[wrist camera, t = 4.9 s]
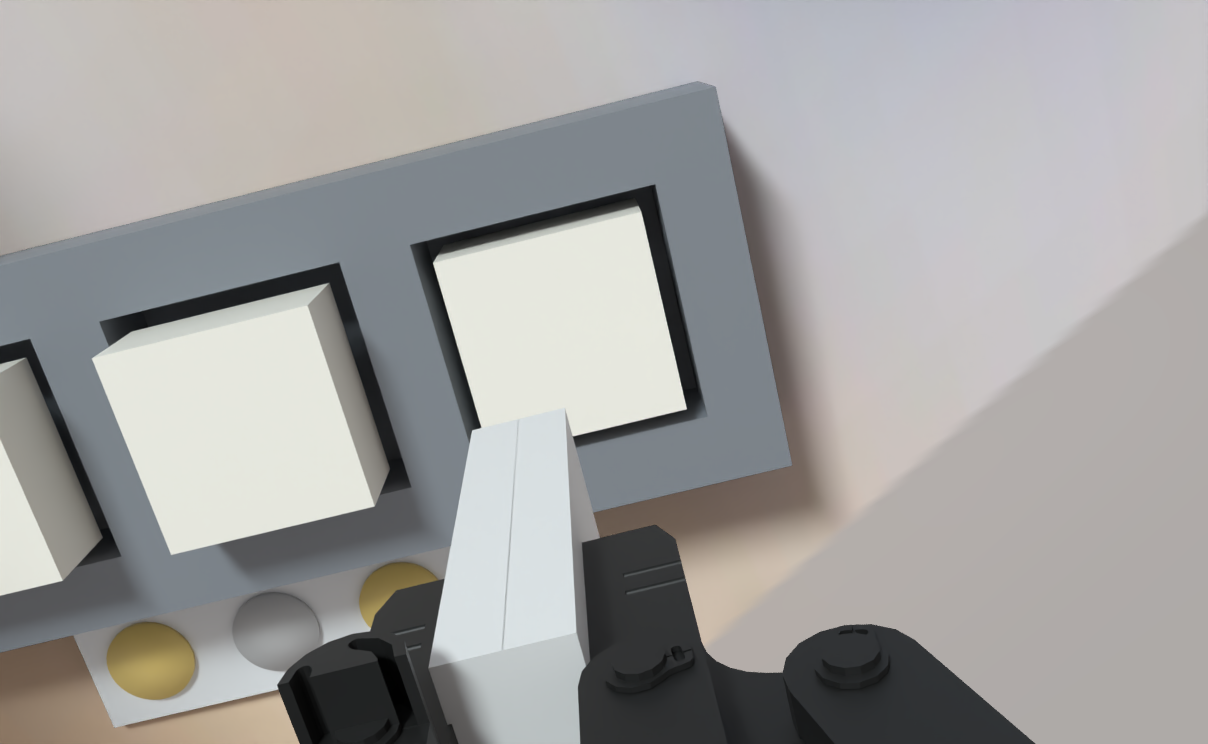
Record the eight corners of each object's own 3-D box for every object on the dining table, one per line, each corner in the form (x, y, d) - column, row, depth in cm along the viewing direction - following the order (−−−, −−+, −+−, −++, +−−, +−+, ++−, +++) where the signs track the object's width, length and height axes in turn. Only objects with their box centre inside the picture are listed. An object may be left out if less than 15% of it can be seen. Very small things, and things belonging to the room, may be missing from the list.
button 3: (495, 424, 30) (489, 456, 28) (443, 244, 28) (433, 262, 26) (677, 380, 30) (686, 409, 27) (634, 198, 28) (641, 211, 26)
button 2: (202, 513, 29) (171, 554, 26) (131, 331, 27) (91, 358, 25) (389, 469, 28) (374, 506, 26) (329, 282, 27) (307, 305, 25)
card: (119, 719, 34) (111, 731, 33) (71, 611, 33) (62, 621, 32) (485, 634, 33) (484, 645, 33) (450, 521, 32) (447, 530, 32)
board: (-64, 618, 33) (-135, 684, 29) (-215, 309, 30) (-314, 343, 26) (768, 420, 32) (792, 465, 28) (698, 81, 29) (715, 86, 25)
